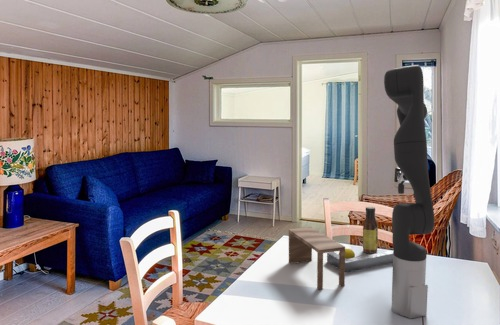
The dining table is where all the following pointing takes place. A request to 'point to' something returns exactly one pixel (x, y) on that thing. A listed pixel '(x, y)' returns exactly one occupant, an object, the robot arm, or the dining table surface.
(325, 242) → the small wooden stool
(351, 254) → the lemon
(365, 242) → the sauce bottle
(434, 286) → the dining table surface
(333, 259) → the crook tool
